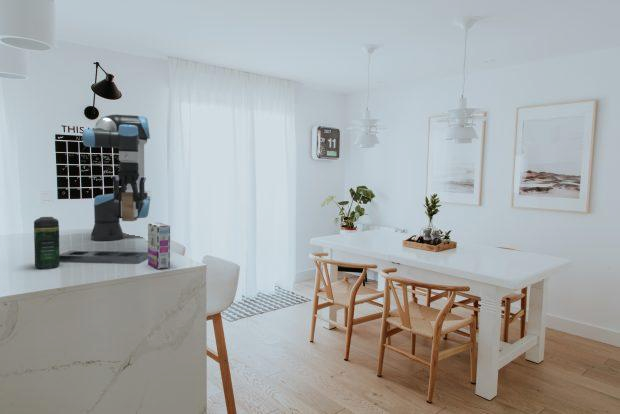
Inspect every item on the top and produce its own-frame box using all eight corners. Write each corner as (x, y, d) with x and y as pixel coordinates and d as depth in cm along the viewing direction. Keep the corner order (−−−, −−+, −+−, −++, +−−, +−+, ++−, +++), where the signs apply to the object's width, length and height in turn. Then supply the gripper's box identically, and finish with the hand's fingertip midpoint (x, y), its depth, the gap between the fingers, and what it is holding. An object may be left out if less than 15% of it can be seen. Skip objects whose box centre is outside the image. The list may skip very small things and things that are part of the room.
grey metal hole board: (70, 256, 169) (70, 250, 169) (148, 258, 170) (148, 252, 170) (56, 261, 159) (56, 255, 159) (138, 263, 160) (138, 257, 160)
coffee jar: (60, 267, 151) (59, 218, 149) (34, 270, 146) (33, 219, 145) (59, 262, 159) (58, 215, 157) (35, 264, 154) (33, 216, 153)
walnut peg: (126, 219, 177) (126, 192, 176) (136, 219, 177) (136, 192, 176) (121, 221, 172) (121, 192, 171) (132, 221, 173) (132, 193, 171)
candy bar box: (170, 268, 155) (170, 225, 153) (157, 269, 152) (157, 226, 150) (160, 262, 163) (159, 222, 162) (147, 264, 160) (147, 222, 159)
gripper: (103, 161, 168) (104, 217, 171) (146, 162, 169) (146, 218, 171) (111, 161, 176) (112, 214, 178) (152, 162, 176) (153, 216, 179)
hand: (129, 216), depth 175 cm, fingers closed on walnut peg, 4 cm apart
